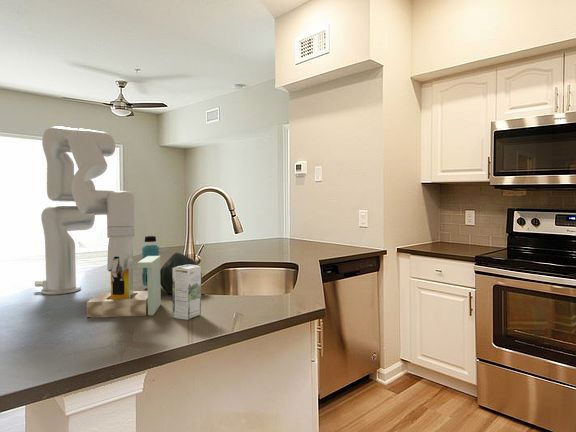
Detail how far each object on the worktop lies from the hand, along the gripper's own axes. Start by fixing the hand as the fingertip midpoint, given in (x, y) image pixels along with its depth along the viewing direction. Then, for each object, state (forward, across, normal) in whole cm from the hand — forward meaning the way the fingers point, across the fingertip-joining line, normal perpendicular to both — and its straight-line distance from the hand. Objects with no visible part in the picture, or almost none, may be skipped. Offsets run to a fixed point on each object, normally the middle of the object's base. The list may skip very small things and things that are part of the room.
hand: (122, 291), depth 117 cm
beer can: (+5, 0, 0) cm, 5 cm away
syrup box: (+6, +9, +20) cm, 23 cm away
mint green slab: (+6, 0, +8) cm, 10 cm away
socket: (+6, 0, 0) cm, 6 cm away
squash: (+6, -23, +14) cm, 28 cm away
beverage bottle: (+6, -31, +2) cm, 31 cm away
